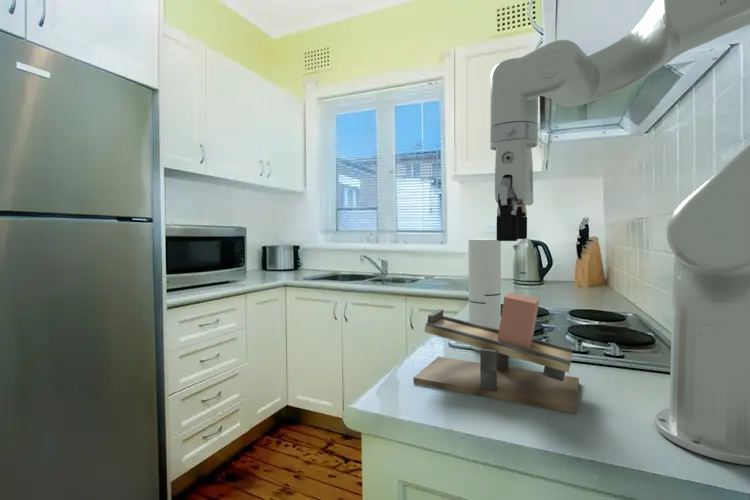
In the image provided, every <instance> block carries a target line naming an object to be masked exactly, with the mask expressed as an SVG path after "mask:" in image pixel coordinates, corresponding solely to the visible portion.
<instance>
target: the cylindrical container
mask: <svg viewBox="0 0 750 500" xmlns="http://www.w3.org/2000/svg"><path fill="white" fill-rule="evenodd" d="M501 243H502V241H498V240H497V238H469V239H468V322H470V323H474V324H478V325H482V326H486V327H490V328H494V329H498V330H499V327H500V321H501V315H502V311H501V310H502V309H501V307H502V306H501V305H502V304H501V303H502V302H501V297H502V296H501V295H502V294H501V293H502V291H501V288H502V287H501V285H502V281H501V279H502V275H501V272H502V271H501V269H502V267H501V265H502V257H501V254H502V253H501V252H502V247H501V245H502V244H501ZM470 347H471V348H470ZM470 347H469V348H470V349H472V350H475V351H479V352H480V350H481V349H482V348H479V347H476V346H472V345H470Z"/></svg>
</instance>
